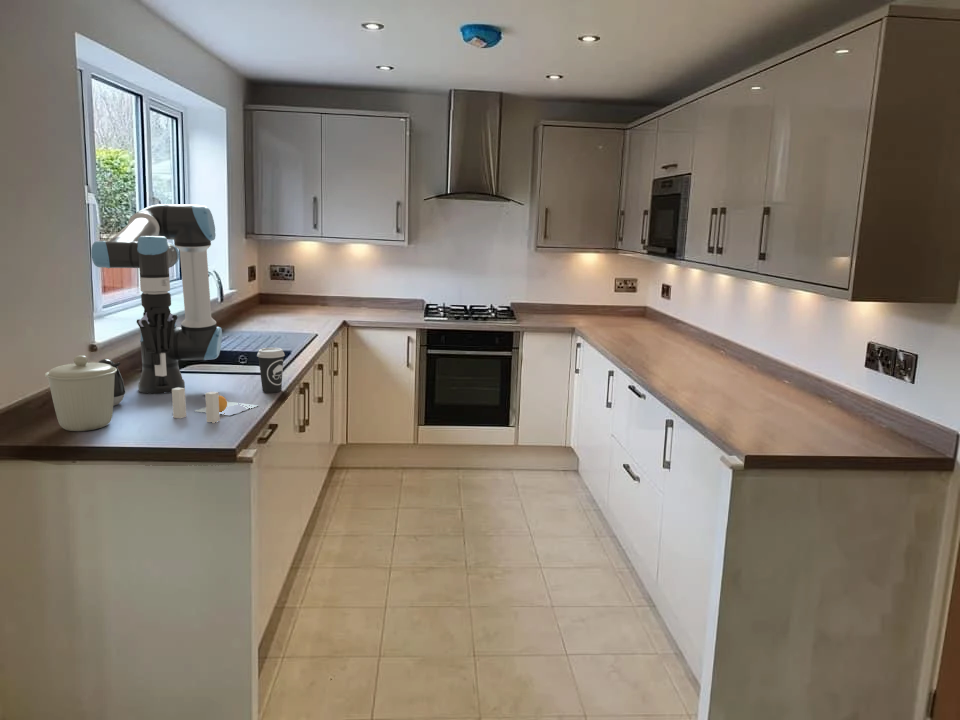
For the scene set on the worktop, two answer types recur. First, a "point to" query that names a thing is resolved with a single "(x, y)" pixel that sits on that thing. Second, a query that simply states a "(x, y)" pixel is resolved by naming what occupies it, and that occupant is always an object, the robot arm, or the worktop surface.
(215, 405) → the post
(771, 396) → the worktop surface
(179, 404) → the post
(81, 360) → the canister
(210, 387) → the worktop surface
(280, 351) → the coffee cup
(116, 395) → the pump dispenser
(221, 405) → the ball
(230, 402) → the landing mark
